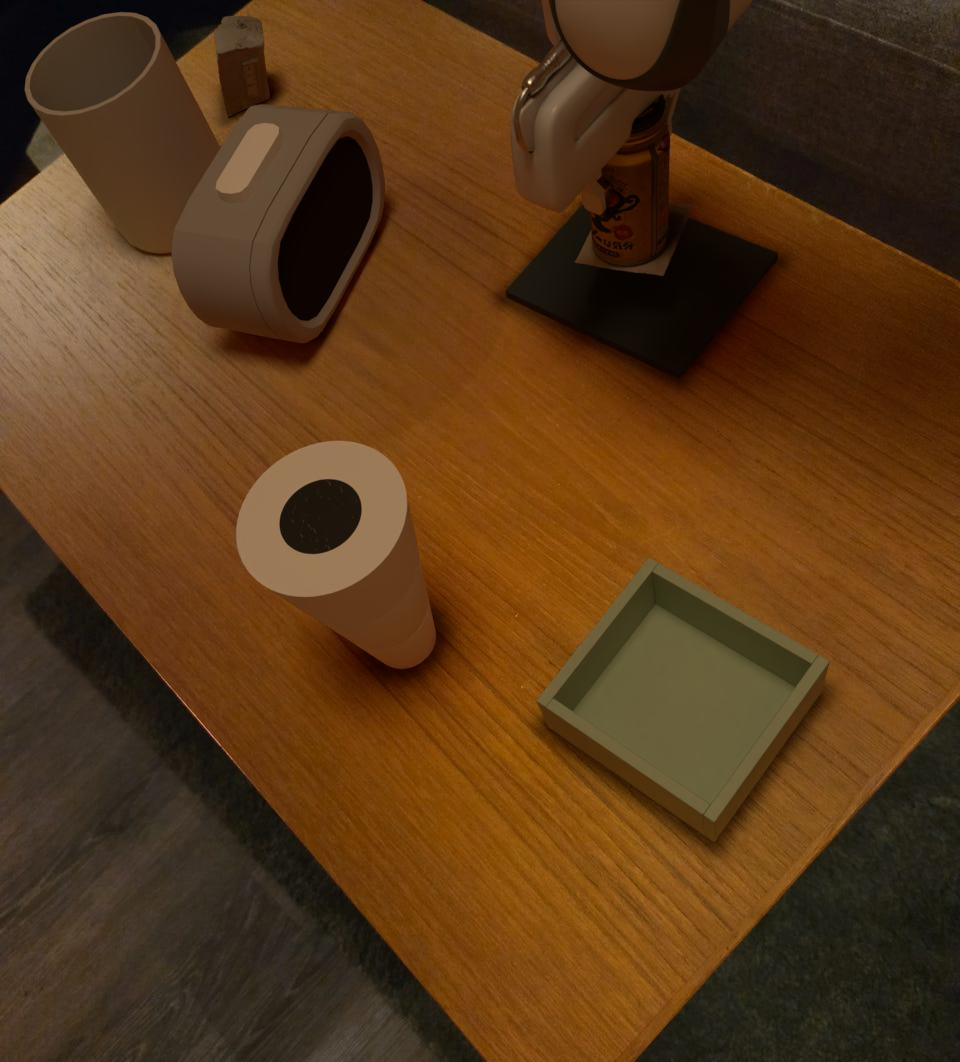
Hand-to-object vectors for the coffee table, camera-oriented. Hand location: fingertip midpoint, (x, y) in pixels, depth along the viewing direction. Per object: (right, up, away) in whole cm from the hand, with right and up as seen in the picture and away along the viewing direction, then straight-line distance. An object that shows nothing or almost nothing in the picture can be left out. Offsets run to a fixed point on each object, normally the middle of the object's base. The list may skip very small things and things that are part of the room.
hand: (628, 172), depth 74 cm
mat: (+2, -4, +10) cm, 11 cm away
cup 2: (-17, -35, 0) cm, 39 cm away
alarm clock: (-27, -1, +18) cm, 32 cm away
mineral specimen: (-35, +23, +31) cm, 52 cm away
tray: (+3, -40, -7) cm, 41 cm away
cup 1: (-43, +11, +27) cm, 52 cm away
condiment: (+1, -3, +6) cm, 6 cm away
